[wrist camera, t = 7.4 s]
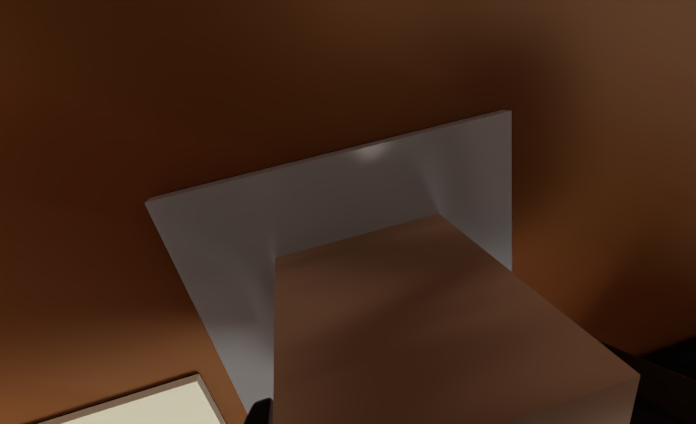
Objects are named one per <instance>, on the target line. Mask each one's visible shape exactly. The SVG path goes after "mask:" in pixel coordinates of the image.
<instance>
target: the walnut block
mask: <svg viewBox="0 0 696 424" xmlns="http://www.w3.org/2000/svg"><path fill="white" fill-rule="evenodd" d="M639 380H640V374H639V373H638V372H636V371H635V370H634V369H633V368H631V367H630V366H629V365H628V364H626V363H625V362H624V361H623V360H621V359H620V358H619V357H618V356H616V355H615V354H614V353H613V352H611V351H610V350H609V349H608V348H606V347H605V346H604V345H603V344H601V343H600V342H599V341H598V340H596V339H595V338H594V337H593V336H591V335H590V334H589V333H588V332H586V331H585V330H584V329H583V328H581V327H580V326H579V325H578V324H576V323H575V322H574V321H573V320H571V319H570V318H569V317H568V316H566V315H565V314H564V313H563V312H561V311H560V310H559V309H558V308H556V307H555V306H554V305H553V304H551V303H550V302H549V301H548V300H546V299H545V298H544V297H543V296H541V295H540V294H539V293H538V292H536V291H535V290H534V289H533V288H531V287H530V286H529V285H528V284H526V283H525V282H524V281H523V280H521V279H520V278H519V277H518V276H516V275H515V274H514V273H513V272H511V271H510V270H509V269H508V268H506V267H505V266H504V265H503V264H501V263H500V262H499V261H498V260H496V259H495V258H494V257H493V256H491V255H490V254H489V253H488V252H486V251H485V250H484V249H483V248H481V247H480V246H479V245H478V244H476V243H475V242H474V241H473V240H471V239H470V238H469V237H468V236H466V235H465V234H464V233H463V232H461V231H460V230H459V229H457V228H456V227H455V226H454V225H452V224H451V223H450V222H449V221H447V220H446V219H445V218H444V217H442V216H441V215H440V214H439V213H438V214H434V215H431V216H427V217H423V218H420V219H416V220H412V221H409V222H405V223H401V224H398V225H394V226H390V227H387V228H383V229H379V230H376V231H372V232H368V233H365V234H361V235H357V236H354V237H350V238H346V239H343V240H339V241H336V242H332V243H328V244H325V245H321V246H317V247H314V248H310V249H306V250H303V251H299V252H295V253H292V254H288V255H284V256H281V257H277V258H275V300H274V392H273V424H630V420H631V415H632V411H633V406H634V402H635V397H636V393H637V389H638V384H639Z"/></svg>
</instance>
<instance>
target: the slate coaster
mask: <svg viewBox="0 0 696 424" xmlns="http://www.w3.org/2000/svg"><path fill="white" fill-rule="evenodd" d="M144 204H145V206H146V208H147V210H148V212H149V214H150V216H151V218H152V220H153V222H154V224H155V226H156V228H157V230H158V232H159V234H160V236H161V238H162V240H163V243H164V245H165V247H166V249H167V251H168V253H169V255H170V257H171V259H172V261H173V263H174V265H175V267H176V269H177V271H178V273H179V275H180V277H181V279H182V281H183V283H184V285H185V287H186V289H187V291H188V294H189V296H190V298H191V300H192V302H193V304H194V306H195V308H196V310H197V312H198V314H199V316H200V318H201V320H202V322H203V324H204V326H205V328H206V330H207V332H208V334H209V336H210V338H211V340H212V342H213V345H214V347H215V349H216V351H217V353H218V355H219V357H220V359H221V361H222V363H223V365H224V367H225V369H226V371H227V373H228V375H229V377H230V379H231V381H232V383H233V385H234V387H235V389H236V391H237V393H238V395H239V398H240V400H241V402H242V404H243V406H244V408H245V410H246V412H247V414H248V413H249V411H250V409H251V407H252V405H253V404H254V403H255V402H257V401H259V400H262V399H266V398H271V399H272V400H273V392H274V300H275V258H277V257H281V256H284V255H288V254H292V253H295V252H299V251H303V250H306V249H310V248H314V247H317V246H321V245H325V244H328V243H332V242H336V241H339V240H343V239H346V238H350V237H354V236H357V235H361V234H365V233H368V232H372V231H376V230H379V229H383V228H387V227H390V226H394V225H398V224H401V223H405V222H409V221H412V220H416V219H420V218H423V217H427V216H431V215H434V214H438V213H439V214H440V215H441V216H442V217H444V218H445V219H446V220H447V221H449V222H450V223H451V224H452V225H454V226H455V227H456V228H457V229H459V230H460V231H461V232H463V233H464V234H465V235H466V236H468V237H469V238H470V239H471V240H473V241H474V242H475V243H476V244H478V245H479V246H480V247H481V248H483V249H484V250H485V251H486V252H488V253H489V254H490V255H491V256H493V257H494V258H495V259H496V260H498V261H499V262H500V263H501V264H503V265H504V266H505V267H506V268H508V269H509V270H510V271H511V272H512V111H511V110H499V111H495V112H491V113H487V114H483V115H479V116H475V117H471V118H467V119H463V120H459V121H455V122H451V123H447V124H443V125H439V126H435V127H431V128H427V129H423V130H419V131H415V132H411V133H407V134H403V135H399V136H395V137H391V138H387V139H383V140H379V141H375V142H371V143H367V144H363V145H359V146H355V147H351V148H347V149H343V150H339V151H335V152H331V153H327V154H323V155H319V156H315V157H311V158H307V159H303V160H299V161H295V162H291V163H287V164H283V165H279V166H275V167H271V168H267V169H263V170H259V171H255V172H251V173H247V174H243V175H239V176H235V177H231V178H227V179H223V180H219V181H215V182H211V183H207V184H203V185H199V186H195V187H191V188H187V189H183V190H179V191H175V192H171V193H167V194H163V195H159V196H155V197H151V198H149V199H148V200H147V201H146V202H144Z"/></svg>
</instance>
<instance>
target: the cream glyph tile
mask: <svg viewBox="0 0 696 424" xmlns="http://www.w3.org/2000/svg"><path fill="white" fill-rule="evenodd" d="M38 424H226V423H225V421H224V419H223V417H222V415H221V413H220V412H219V410H218V408H217V406H216V404H215V402H214V400H213V399H212V397H211V395H210V393H209V391H208V389H207V387H206V386H205V384H204V382H203V380H202V378H201V376H200V374H196V375H192V376H189V377H186V378H183V379H180V380H176V381H173V382H170V383H167V384H164V385H160V386H157V387H154V388H151V389H147V390H144V391H141V392H138V393H135V394H131V395H128V396H125V397H122V398H118V399H115V400H112V401H109V402H106V403H102V404H99V405H96V406H93V407H89V408H86V409H83V410H80V411H77V412H73V413H70V414H67V415H64V416H60V417H57V418H54V419H51V420H48V421H44V422H41V423H38Z"/></svg>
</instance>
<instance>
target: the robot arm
mask: <svg viewBox="0 0 696 424" xmlns="http://www.w3.org/2000/svg"><path fill="white" fill-rule="evenodd" d="M599 342H600V343H601V344H603V345H604V346H605V347H606V348H608V349H609V350H610V351H611V352H613V353H614V354H615V355H616V356H618V357H619V358H620V359H621V360H623V361H624V362H625V363H626V364H628V365H629V366H630V367H631V368H633V369H634V370H635V371H636V372H638V373H639V374H640V380H639V384H638V389H637V393H636V397H635V402H634V406H633V411H632V415H631V420H630V424H696V340H695V341H692V342H689V343H687V344H684V345H681V346H678V347H675V348H673V349H670V350H667V351H664V352H661V353H659V354H656V355H653V356H650V357H647V358H645V359H641V358H639V357H637V356H634V355H632V354H629V353H627V352H625V351H622V350H620V349H617V348H615V347H613V346H610V345H608V344H605V343H603V342H601V341H599ZM244 424H273V400H272V399H271V398H266V399H262V400H259V401H257V402H255V403H254V404H253V405H252V407H251V409H250V411H249V413H248V415H247V417H246V419H245V422H244Z"/></svg>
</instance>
